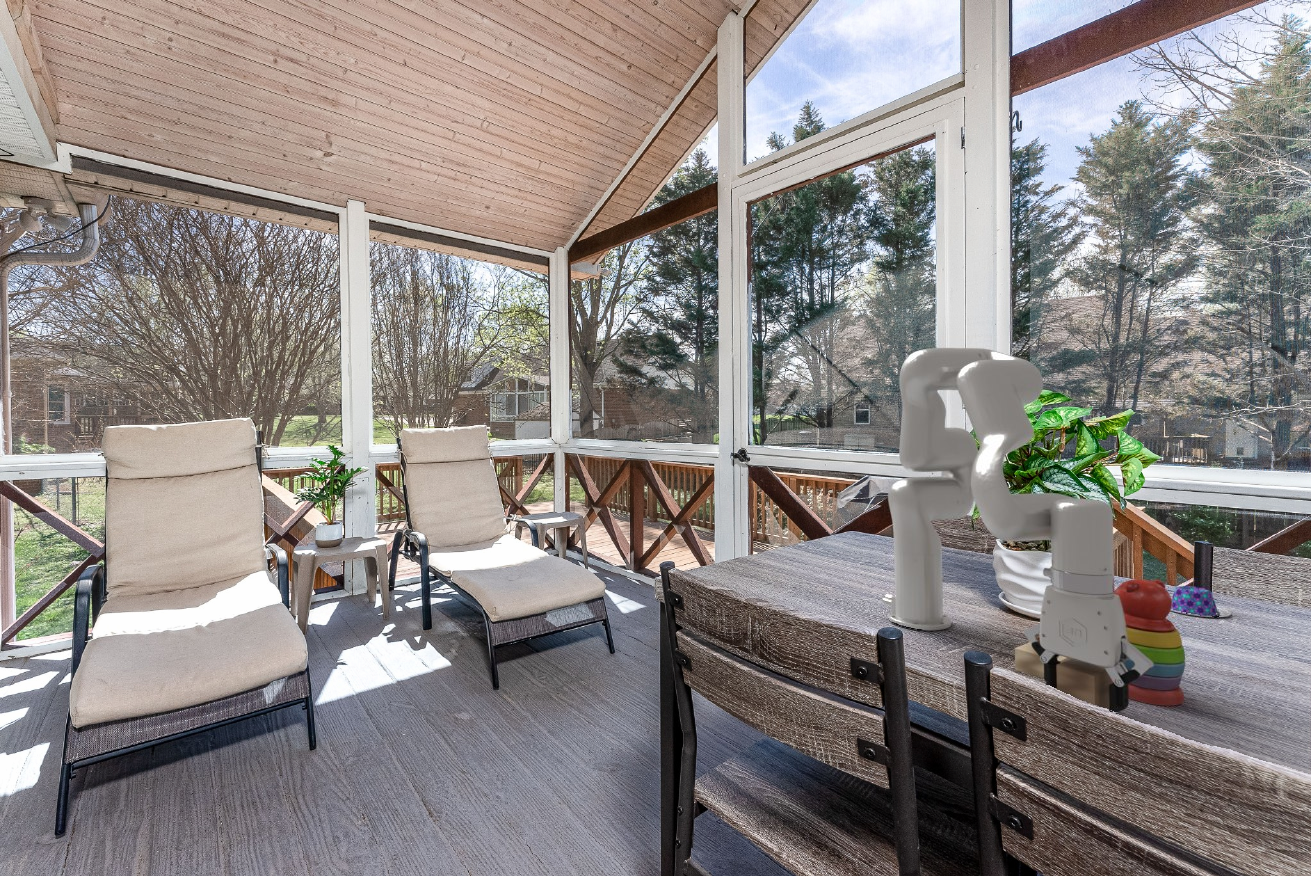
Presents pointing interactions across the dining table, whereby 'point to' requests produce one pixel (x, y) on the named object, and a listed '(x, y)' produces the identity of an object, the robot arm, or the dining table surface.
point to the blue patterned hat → (1195, 601)
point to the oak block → (1031, 660)
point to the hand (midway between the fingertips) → (1084, 698)
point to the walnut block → (1084, 682)
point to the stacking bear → (1153, 642)
